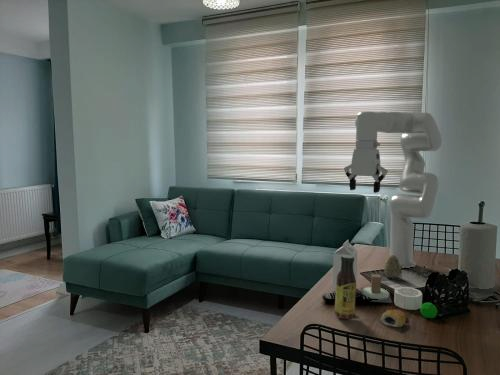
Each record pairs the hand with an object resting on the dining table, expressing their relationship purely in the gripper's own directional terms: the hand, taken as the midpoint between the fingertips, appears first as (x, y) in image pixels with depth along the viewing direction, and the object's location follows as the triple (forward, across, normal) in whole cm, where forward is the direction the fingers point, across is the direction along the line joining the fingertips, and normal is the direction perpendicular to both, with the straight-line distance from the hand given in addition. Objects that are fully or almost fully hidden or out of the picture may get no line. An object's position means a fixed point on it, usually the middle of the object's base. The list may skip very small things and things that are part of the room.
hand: (364, 191), depth 153 cm
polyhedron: (+37, -30, +11) cm, 49 cm away
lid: (+36, -10, +7) cm, 38 cm away
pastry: (+37, -23, +21) cm, 49 cm away
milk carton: (+37, +1, +10) cm, 38 cm away
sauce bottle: (+37, -10, +28) cm, 48 cm away
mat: (+37, -10, +7) cm, 39 cm away
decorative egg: (+37, -7, -14) cm, 40 cm away
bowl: (+37, -21, +7) cm, 43 cm away
